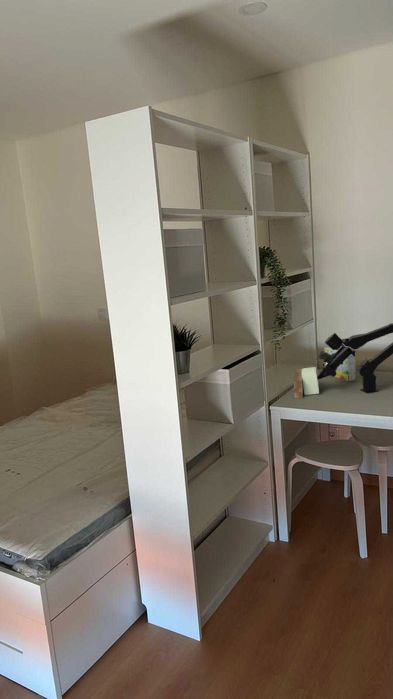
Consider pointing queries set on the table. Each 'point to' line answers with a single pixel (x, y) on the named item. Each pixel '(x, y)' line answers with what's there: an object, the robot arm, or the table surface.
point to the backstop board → (298, 384)
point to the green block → (310, 381)
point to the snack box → (344, 367)
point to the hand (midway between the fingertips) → (317, 378)
